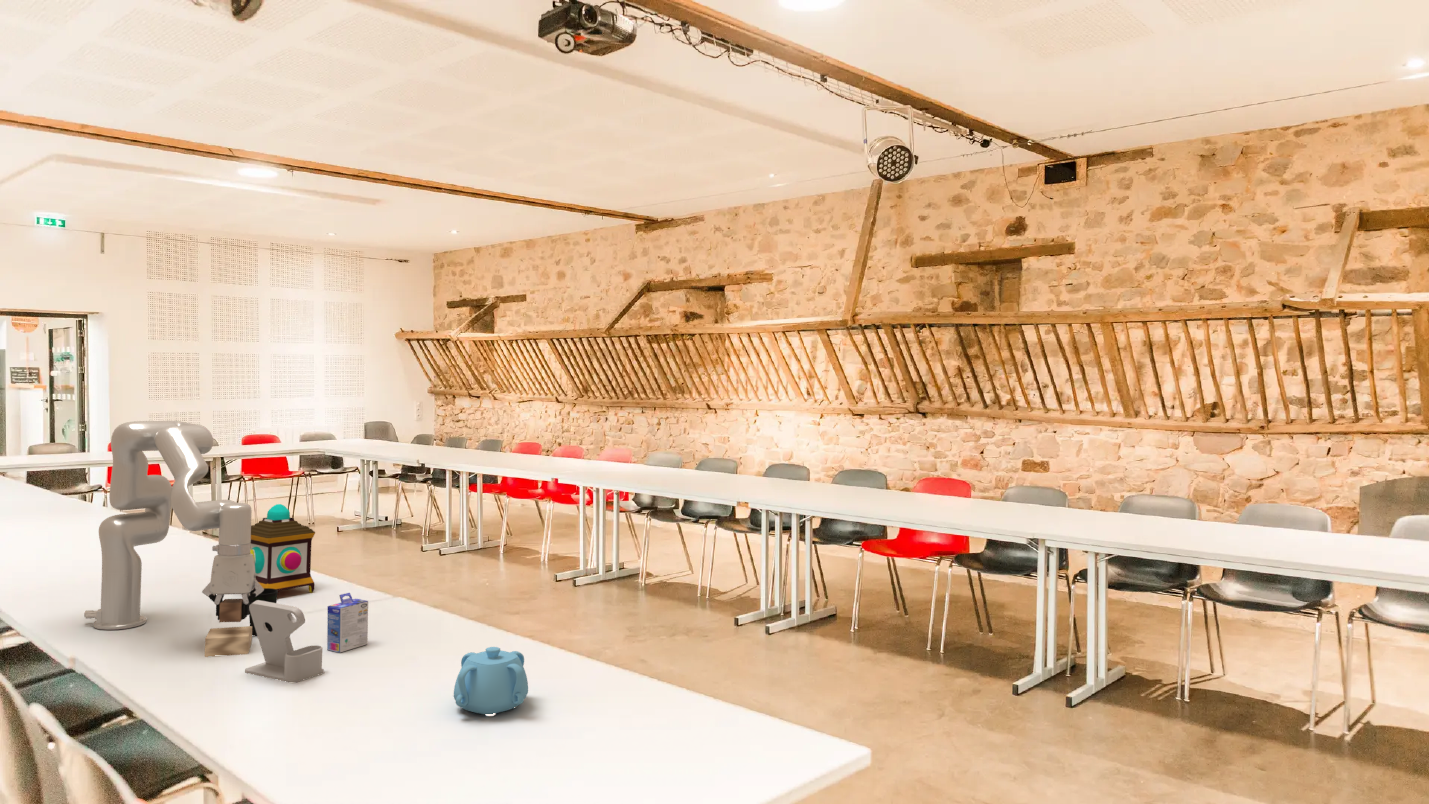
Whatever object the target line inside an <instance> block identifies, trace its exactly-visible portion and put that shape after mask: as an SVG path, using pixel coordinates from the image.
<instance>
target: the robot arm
mask: <svg viewBox="0 0 1429 804" xmlns="http://www.w3.org/2000/svg"><path fill="white" fill-rule="evenodd" d="M110 439H111V440H110V448H111V454H112V467H111V476H110V485H109V499H108V500H109V504H110V506H111V507H112V508H114V509H115V510H116V511H117V510H118V511H131V510H132V511H133V510H140V509H141V510H143V509H144V511H141V512H140V511H139V512H129V513H121V514H114V515H111V516H109V517H107V518H105V519H104V520H102V521H101V523H100V525H99V526H98V538H99V543H100V548H101V549H100V550H101V586H100V587H101V588H100V590H101V591H100V592H101V593H100V608H99V609H97V610H85V611H84V613H83V614H84V615H83V616H84V618H85V619H95V621H94V622H93V626H92V627H93V628H95V629H98V630H104V631H105V630H106V631H110V630H111V631H112V630H124V629H130V628H136V627H139V626H142V625H144V624H145V623H146V622H147V617H146V616H145V615H141V602H142V601H141V596H142V594H141V593H142V570H143V569H142V565H143V562H142V559H141V557H140V555H139V554H138V552H137V551H136V549H135V547H137V546H143V545H151V544H157V543H160V542H161V541H164V539H165V538H166V537H167V536H168V533H169V529H170V524H171V523H170V522H171V513H172V511H173V513H174V514H175V516H176V517H177V519H178V521H179V523H180V524H181V525H182V526H183V527H184V528H185V529H186V530H188V531H191V532H192V531H193V532H197V531H198V532H199V531H206V530H214V529H218V544H216V545H213V546H212V548H211V551H212V552H217V555H214V557H213V561H212V567H211V574H210V580H209V581H210V582H209V583H207V585H206V586H205V587H204V588H203V589H202V591H201V593H202V594H203V595H205V596H206V597H208V599H210V601H212V602H213V603H214V605H215V616H216V617H217V620H218V621H219V613H220V603H221V602H222V601H223V600H224V596H225V595H240V596H241V599H243V604H242V614H241V619H243V620H246V618H247V617H248V616H249V603H250V601H251V600H252V599H254V598H255V597H256V596H257V595H259V594H260V593H261V592H263V591H264V588H263V587H262V586H261V585H260V584H259V583H258V581H257V580H256V576H255V564H254V558H253V554H250V547H251V526H252V511H253V510H252V507H251V505H250V504H249V503H244V502H237V501H233V500H230V499H217V500H206V501H195V500H194V498H193V496H192V494H191V492H190V490H189V487H190V486H192V485H194V484H195V483H198V482H199V481H200V480H202V479H203V478H204V477H205V476H206V475H207V474H208V472H209V465H208V463H207V462H206V460H205V459H204V457H203V455H205V454H208V453H209V452H210V451H211V450H212V448H213V446H214V437H213V435H212V433H211V431H210V430H209V429H208V428H207V427H205V426H204V425H202V424H197V423H190V422H184V421H178V420H137V421H129V422H123V423H120V424H119V425H118V426H117V427H115V429H114V430H113V432H112V435H111V437H110ZM152 451H153V452H155V451H158V452H159V453H160V456H161V457H162V459H163V461H164V463H165V464H166V466H167V467H168V469H169V471H170V473H171V475H172V476H173V478H174V482H173V484H172V483H171V481H170V479H168V478H167V477H166V476H164V475H161V474H149V475H148V471H149V460H148V458H147V456H146V454H145V453H144V452H152ZM254 588H255V589H256V591H255V592H254V593H252V594H251V595H250V593H249V592H251V591H252V590H253V589H254Z"/></svg>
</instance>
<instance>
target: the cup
mask: <svg viewBox="0 0 1429 804" xmlns="http://www.w3.org/2000/svg"><path fill="white" fill-rule="evenodd" d="M255 591H256V589H254V590H252V591H251V592H249V593H250V595H251V594H252V593H254V592H255ZM278 593H279V591H278V590H277V589H272V588H264V591H263V592H261V593H260V594H259V595H257V596H256V597H255V598H254V599H252V600H251V601H250V603H249V606H250V604H252V603H253V602H255V601H256V600H260V601H266V602H272V603H277V601H278V595H279V594H278ZM277 604H278V603H277ZM248 617H249V618H248V619H249V626H252V635H255V636H254V637H258V636H257V633H256V629H255V626H254V623H253V620H252V616H251V613H250V610H249V615H248ZM265 626H266V628H267V629H268V631H269V632H272V631H273V629H272V626H271V625H270V624H269V623H267V622H265Z"/></svg>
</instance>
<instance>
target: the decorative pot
mask: <svg viewBox="0 0 1429 804" xmlns="http://www.w3.org/2000/svg"><path fill="white" fill-rule="evenodd" d="M460 662H461V663H460V664H461V665H460V666H461V668H460V671H459V673H458V674H457V677H456V679H455V684H454V688H453V689H454V690H453V699H454V701H455V704H456V706H457V707H459V708H461V709H463V710H466V711H468V712H473V713H475V714H481V715H484V714H493V713H496V714H498V713H502V712H506V711H509V710H512V708H513V709H515V708H514V707H516V706H517V707H518V706H520V705H522V703H523V702H524V701H525V699H526V697H527V696H528V693H529V682H528V677H527V676H528V675H527V673H526V670H525V668H524V667H525V666H524V664H525V657H524V654H523V653H522V652H520V651H517V650H515V651H514V650H513V651H506V650H501V648H500V647H498V646H489V647H486V648H485V651H481V652H477V653H476V652H467V653H465V654H464V655H463V656H462V657H461V660H460ZM517 707H516V708H517Z"/></svg>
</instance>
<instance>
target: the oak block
mask: <svg viewBox="0 0 1429 804" xmlns="http://www.w3.org/2000/svg"><path fill="white" fill-rule="evenodd" d="M204 638H205V639H204V640H205V641H204V657H205V658H208V656H212V657H216V656H215V655H227V656H237V655H238V656H239V655H240V654H241V655H249V652H250V650H251V646H252V643H253V636H252V626H250V625H249V626H234V627H233V626H232V627H216V628H213V627H211V628H210V629H209V630H208V633H207V635H206V637H204Z"/></svg>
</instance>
